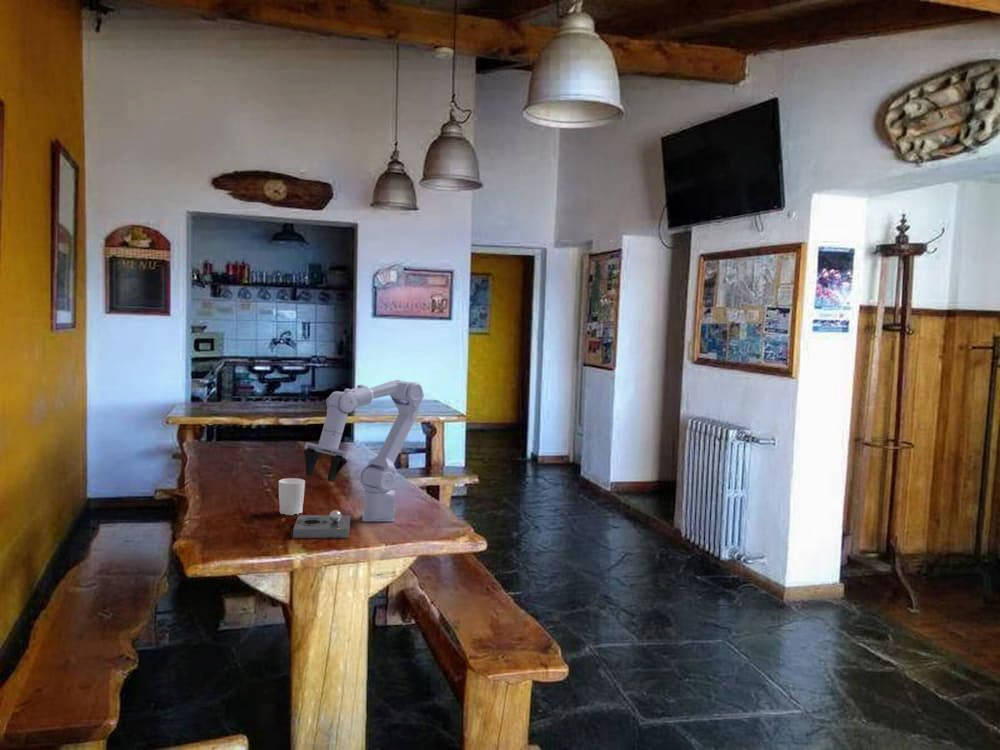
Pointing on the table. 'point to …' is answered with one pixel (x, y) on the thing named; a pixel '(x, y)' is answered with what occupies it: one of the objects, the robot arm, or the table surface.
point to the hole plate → (321, 527)
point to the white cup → (291, 495)
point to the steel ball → (335, 516)
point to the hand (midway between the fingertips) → (319, 478)
